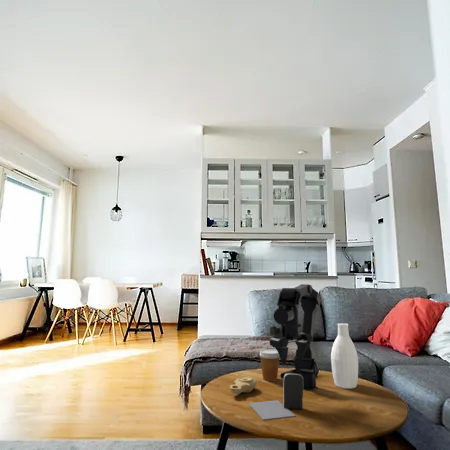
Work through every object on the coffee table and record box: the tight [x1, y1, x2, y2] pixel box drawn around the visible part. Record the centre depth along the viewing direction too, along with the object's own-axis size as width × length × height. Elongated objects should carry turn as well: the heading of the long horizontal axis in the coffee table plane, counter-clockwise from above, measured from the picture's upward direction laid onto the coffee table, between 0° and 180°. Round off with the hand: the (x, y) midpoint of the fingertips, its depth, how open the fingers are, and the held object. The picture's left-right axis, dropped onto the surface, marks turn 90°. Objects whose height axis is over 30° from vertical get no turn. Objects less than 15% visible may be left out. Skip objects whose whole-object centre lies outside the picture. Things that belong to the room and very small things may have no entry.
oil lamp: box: [229, 375, 257, 395], centre depth 134 cm, size 11×14×5 cm
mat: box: [248, 399, 296, 421], centre depth 117 cm, size 12×14×1 cm
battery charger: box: [282, 372, 304, 410], centre depth 120 cm, size 7×4×11 cm, turn 87°
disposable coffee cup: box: [259, 348, 280, 382], centre depth 151 cm, size 10×10×12 cm
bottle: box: [330, 322, 359, 390], centre depth 144 cm, size 11×11×25 cm
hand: (292, 362), depth 128 cm, fingers open, 9 cm apart
